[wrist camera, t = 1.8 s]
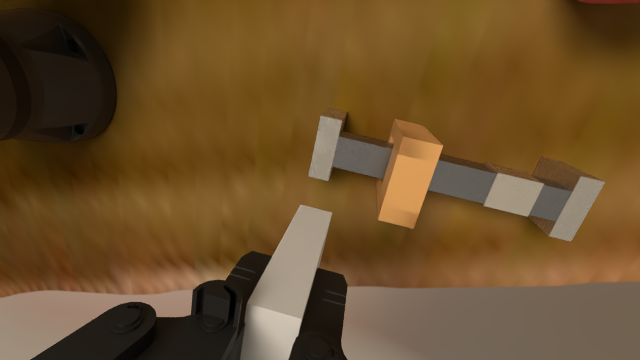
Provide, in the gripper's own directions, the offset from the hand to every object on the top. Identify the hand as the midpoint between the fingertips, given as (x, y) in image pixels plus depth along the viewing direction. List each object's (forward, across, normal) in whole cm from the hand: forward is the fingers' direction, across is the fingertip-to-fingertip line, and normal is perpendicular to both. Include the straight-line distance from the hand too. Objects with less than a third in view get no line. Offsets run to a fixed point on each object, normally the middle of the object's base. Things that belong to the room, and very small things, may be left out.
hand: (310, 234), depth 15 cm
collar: (+21, +6, 0) cm, 21 cm away
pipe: (+22, +10, 0) cm, 24 cm away
